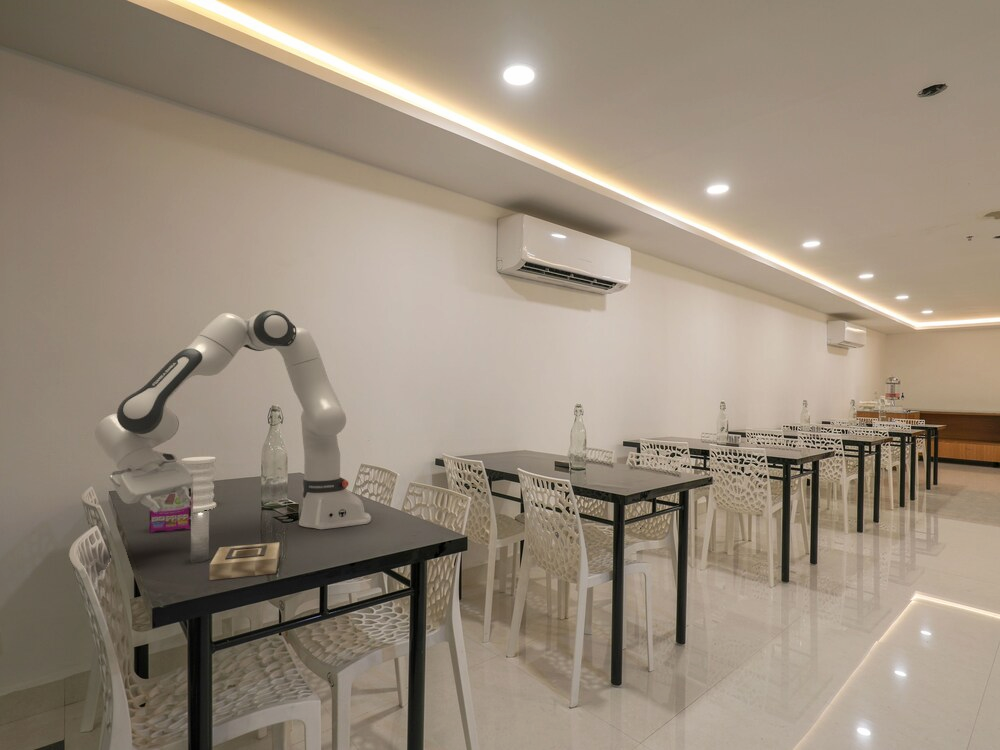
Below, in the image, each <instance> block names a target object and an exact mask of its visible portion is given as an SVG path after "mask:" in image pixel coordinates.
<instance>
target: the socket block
mask: <svg viewBox="0 0 1000 750" xmlns="http://www.w3.org/2000/svg"><path fill="white" fill-rule="evenodd" d="M280 546H281V545H280V542H270V543H269V542H268V543H258V544H245V545H231V546H222V547H221V546H220V547H219V548H218V550H217V551H216V553H215V555H214V557H213V559H212V560H211V561H210V563H209V581H213V580H223V579H232V578H233V579H234V578H242V577H253V576H262V575H263V576H264V575H273V574H276V573H277V570H278V564H279V560H280Z"/></svg>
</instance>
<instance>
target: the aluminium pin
mask: <svg viewBox="0 0 1000 750" xmlns="http://www.w3.org/2000/svg"><path fill="white" fill-rule="evenodd" d="M209 535H210V510H207V511H196V512H192V513H191V529H190V562H191V563H202V562H206V561H208V560H209V553H210V552H209V550H210V549H209V546H210V545H209V544H210V541H209V540H210V536H209Z"/></svg>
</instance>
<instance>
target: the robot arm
mask: <svg viewBox="0 0 1000 750" xmlns="http://www.w3.org/2000/svg"><path fill="white" fill-rule="evenodd" d="M243 347H244V348H247V349H249V350H252V351H255V352H261V351H266V350H267V351H268V350H271V349H276V350H277V352H279V354H280V355H281V357H282V359H283V361H284V365H285V368H286V372H287V374H288V378H289V380H290V383H291V386H292V388H293V391H294V394H296V396H297V399H298V400H299V404H300V405H301V407H302V409H303V410H302V412H301V416H300V421H301V434H302V443H303V444H302V445H303V454H304V467H303V469H304V473H303V474H304V479H303V480H302V484H301V485H302V491H301V493H302V497H303V498H302V499H303V501H302V507H301V513H300V518H299V522H298V526H301V527H303V528H313V529H317V530H327V529H338V528H342V527H343V528H344V527H351V526H352V527H353V526H361V525H367V524H369V523H370V522H371V521H372V516H371V515H370V514H369V512H365V506H364V503H363V501H362V500H361V499H360V497H359V496H357V495H355V494H354V493H352V492H351V491H350V490H348V489H347V487H348V486H349V481H348V480H347V479H345V478H342V477H341V451H340V449H339V442H338V434H340V433H341V432H342V431H343V430H344V428H345V426H346V424H347V416H346V413H345V411H344V410H343V407H342V406H341V404H340V401H339V398H338V397H337V395H336V392H335V390H334V388H333V386H332V384H331V382H330V380H329V377H328V374H327V371H326V369H325V366H324V365H325V364H324V363H323V360H322V357H321V353H320V352H319V351H320V350H319V348H318V346H317V344H316V341H315V340H314V338H313V337H312V334H311V332H310V331H309V330H308V329H306V328H303V327H296V326H295V324H294V323H292V322H291V320H290V319H289V318H288V317H287V316H286V315H285V314H284V313H282V312H281V311H278V310H273V309H272V310H265V311H263V312H259V313H257V314H255V315H253V316H252V317H249V318H248V319H243V318H242V317H240V316H238V315H237V314H234V313H231V312H223V313H221V314H219V315H218V316H216V317H215V318H214V319H212V321H210V322H209V323H208V324H207V325H206V326H205V327H204V328H203V330H201V332H200V333H199V334H198V335H197V337H195V338H194V340H193V341H192V342H191V343H190V344H189V345H188V346H187V347H186V348H185V349H183V350H181V351H179V352H178V353H177V354H176V355H175V356H173V357H172V358H171V359H170V360H169V361H168V362H167V363H166V364H165V365H164V366H163V367H162V368H161V369H160V370H159V371H158V372H157V373H156V374H155V375H153V377H152V378H151V379H150V380H149V381H148V382H147V383H146V384H144V386H142V388H140V389H138V390H136V391H135V392H133V393H132V394H130V395H127V397H125V398H124V399H123V400H122V401H121V402H120V404H119V406H118V408H117V411H116V413H112V414H110V415H107V416H105V418H103V419H101V420H100V421H99V422H98V424H97V425H96V427H95V430H94V435H95V439H96V441H97V443H98V444H99V446H100V448H101V449H102V450H103V452H104V454H105V455H106V456H107V457H108V458H109V459H111V460H112V461H114V463H115V467H117V470H115V471H113V472H111V473H110V475H109V479H110V482H111V483H112V484H113V487H114V489H115V491H116V493H117V495H118V497H119V498H120V499H121V501H122V502H123V503H125V504H126V505H132V504H135V503H139V502H140V503H141V505H143V506H145V507H147V508H149V509H150V508H151V509H152V511H153V512H159V511H161V509H163V506H162V505H161V503H160V502H155V501H154V500H152V498H156V497H161V496H165V495H169V494H173V493H178V495H181V499H180V501H181V502H182V504H188V503H189V502H190V501H191V498H190V497H189V495H188V488H189V487H190V486H191V485H192V484H193V477H192V476H191V475H190V473H189V472H188V471H187V470H186V468H185V467H184V464H182V463H180V462H178V461H177V460H178V457H177V456H176V455H175V454H173V453H166V452H160V451H158V450H154V449H153V448H155V447H157V446H159V445H162V444H163V443H165V442H167V441H169V440H171V439H172V438H174V436H175V435H176V434H177V432H178V430H179V426H180V424H179V423H180V422H179V419H178V417H177V415H176V414H175V413H174V412H173V411H172V410H170V409H169V407H167V406H166V405H167V402H168V401H169V399H170V398H171V397H172V396H173V395H174V394H175V393H176V392H177V391H178V390H179V389H180V388H181V386H183V385H184V384H185V382H186V381H187V380H189V379H190V378H192V377H195V376H204V377H206V376H208V377H209V376H215V375H218V374H220V373H221V372H222V371H223V370H225V368H227V366H228V365H229V364H230V363H231V362H232V360H233V359H234V358H235V356H236V355H237V354H238V352H239V351H240V350H241V349H242V348H243Z"/></svg>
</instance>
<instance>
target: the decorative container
mask: <svg viewBox="0 0 1000 750" xmlns="http://www.w3.org/2000/svg"><path fill="white" fill-rule="evenodd" d="M216 458H217V457H215V456H192V457H185V458H182V459H181V461H180V462H181V463H180V464H182V465H183V466H184V467H185V468H186V470H187V471H188V472H189V473H190V475H191V474H193V512H196V511H204V510H207V511H210V510H209V509H211V510H214V509H216V508H217V502H215V501H214V497H215V493H214V489H215V484H214V480H215V475H214V472H215V466H214V463H215V462H216ZM215 507H216V508H215ZM213 508H214V509H213Z"/></svg>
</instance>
